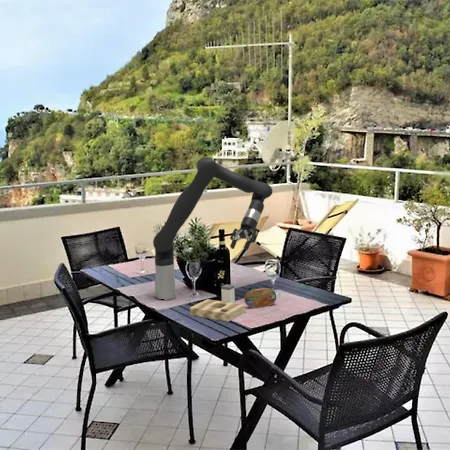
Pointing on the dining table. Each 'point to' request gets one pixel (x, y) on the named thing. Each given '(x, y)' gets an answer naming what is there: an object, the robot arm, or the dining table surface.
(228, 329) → the dining table surface
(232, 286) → the plug
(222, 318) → the socket board
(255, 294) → the tin
